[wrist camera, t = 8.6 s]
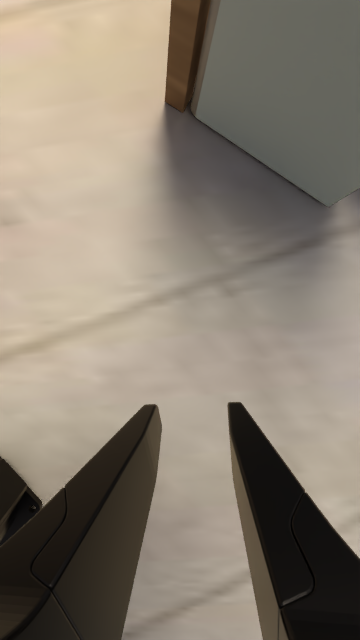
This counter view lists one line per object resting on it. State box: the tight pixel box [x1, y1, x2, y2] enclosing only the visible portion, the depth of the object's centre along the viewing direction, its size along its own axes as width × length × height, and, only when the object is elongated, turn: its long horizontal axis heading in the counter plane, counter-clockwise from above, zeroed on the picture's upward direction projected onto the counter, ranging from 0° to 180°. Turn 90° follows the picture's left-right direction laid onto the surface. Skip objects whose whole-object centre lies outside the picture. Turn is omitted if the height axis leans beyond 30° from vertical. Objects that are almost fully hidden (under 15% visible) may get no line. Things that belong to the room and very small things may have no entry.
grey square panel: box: [191, 0, 360, 207], centre depth 14 cm, size 2×13×13 cm, turn 60°
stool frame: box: [165, 0, 211, 113], centre depth 15 cm, size 10×16×13 cm, turn 62°
